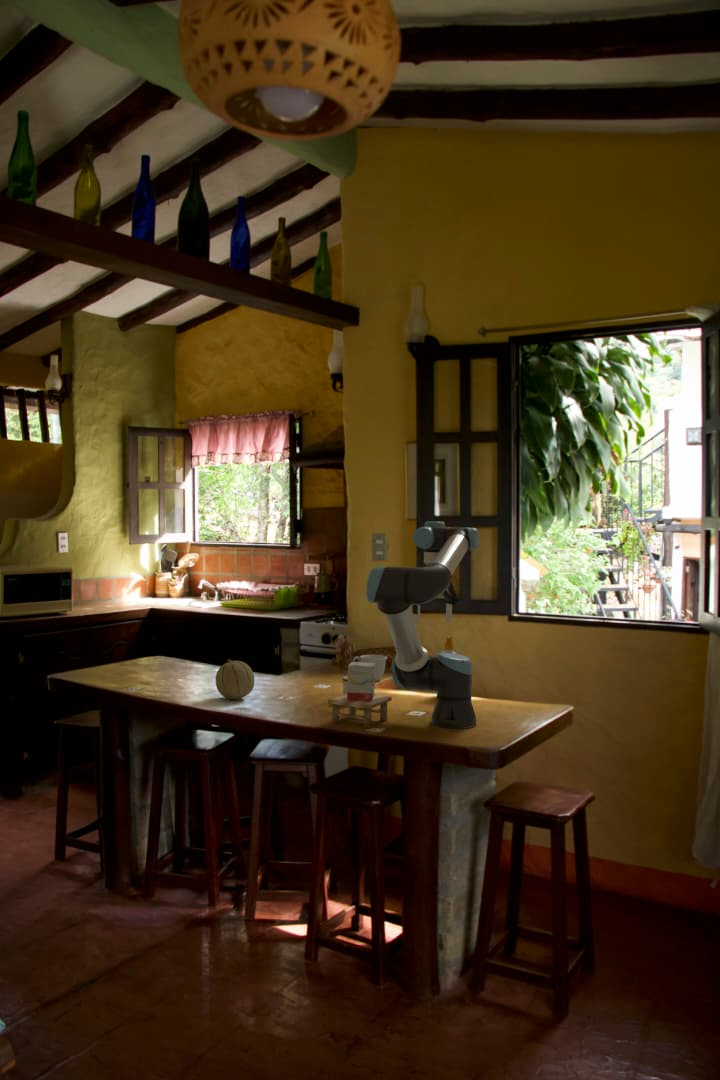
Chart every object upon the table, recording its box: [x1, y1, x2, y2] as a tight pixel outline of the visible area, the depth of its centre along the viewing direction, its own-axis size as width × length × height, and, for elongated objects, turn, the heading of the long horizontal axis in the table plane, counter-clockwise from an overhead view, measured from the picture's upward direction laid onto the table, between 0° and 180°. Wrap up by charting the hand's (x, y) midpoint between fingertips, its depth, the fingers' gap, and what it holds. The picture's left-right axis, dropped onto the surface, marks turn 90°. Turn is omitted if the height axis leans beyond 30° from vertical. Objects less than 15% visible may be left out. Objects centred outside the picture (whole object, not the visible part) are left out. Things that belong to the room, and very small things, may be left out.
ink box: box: [347, 661, 376, 701], centre depth 300 cm, size 9×9×12 cm
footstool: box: [327, 693, 393, 729], centre depth 300 cm, size 16×16×8 cm
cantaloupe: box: [215, 658, 255, 701], centre depth 334 cm, size 15×15×15 cm
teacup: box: [352, 654, 388, 682], centre depth 380 cm, size 12×15×10 cm
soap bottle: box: [441, 635, 457, 654], centre depth 346 cm, size 9×9×24 cm
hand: (433, 622), depth 321 cm, fingers open, 13 cm apart
